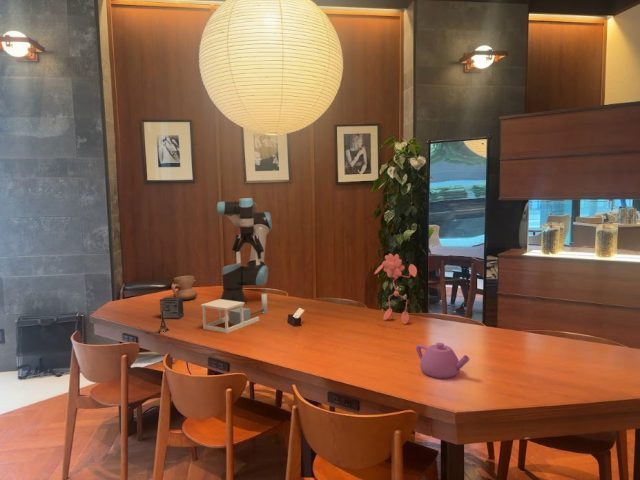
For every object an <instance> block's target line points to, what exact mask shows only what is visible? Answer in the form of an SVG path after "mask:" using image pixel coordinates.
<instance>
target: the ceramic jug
mask: <svg viewBox="0 0 640 480" xmlns="http://www.w3.org/2000/svg"><path fill="white" fill-rule="evenodd" d="M173 281H174V284H173V285H172V286H171V290H172V293H173V295H172V296H173V297H172V298H183V302H184V301H191V300H193V299H195V298H196V297H197V296H198V292H197V290H195V289H194V288H193V285H194V283H195V282H197V281H196V279H195V276H194V275H183V276H177V277H174V278H173ZM176 288H177V290H176Z"/></svg>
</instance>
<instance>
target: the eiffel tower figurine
mask: <svg viewBox="0 0 640 480" xmlns="http://www.w3.org/2000/svg"><path fill="white" fill-rule="evenodd" d="M161 331H163V332H164V331H165V332H164V333H166V332H169V331H170V329H169V327H167V325H166V323H165V319H164V317H163V308H162V319H161V321H160V326H159V329H158V331H157V333H151V331H145V332H144V334H148V335H152V336H157V335H160V334H162V333H160V332H161Z"/></svg>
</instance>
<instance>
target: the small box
mask: <svg viewBox="0 0 640 480" xmlns="http://www.w3.org/2000/svg"><path fill="white" fill-rule="evenodd" d="M159 305H160V306H159V307H160V319H161V320H162V308H163V317H164V320H179V319H181V318H183V317H184V301H183V298H174V297H163V298H161V299H159Z"/></svg>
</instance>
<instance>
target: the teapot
mask: <svg viewBox="0 0 640 480" xmlns="http://www.w3.org/2000/svg"><path fill="white" fill-rule="evenodd" d="M415 349H416V353H417V355H418V357H419V359H420V363H419V367H420V369H421V371H422V373H424V375H426V376H428V377H431V378H436V379H450V378H453V377H456V375H457V374H458V373H459V372H460V371H461V369H462V368H463V367H464V366H465V365H466V364H467V363H468V362H469V361H470V359H471V358H470V357H469V356H468V355H466V354H464V355H463V356H462V357H461V358H460V359H458V357H457V354H456V353H455V351H454V350H453V349H452V347H450V346H448V345H445V344H444V343H443V342H436V343H435V344H433V345H430V346H425V345H423V344H416V346H415ZM421 349H423V350H425V351H424V353H422V350H421Z"/></svg>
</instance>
